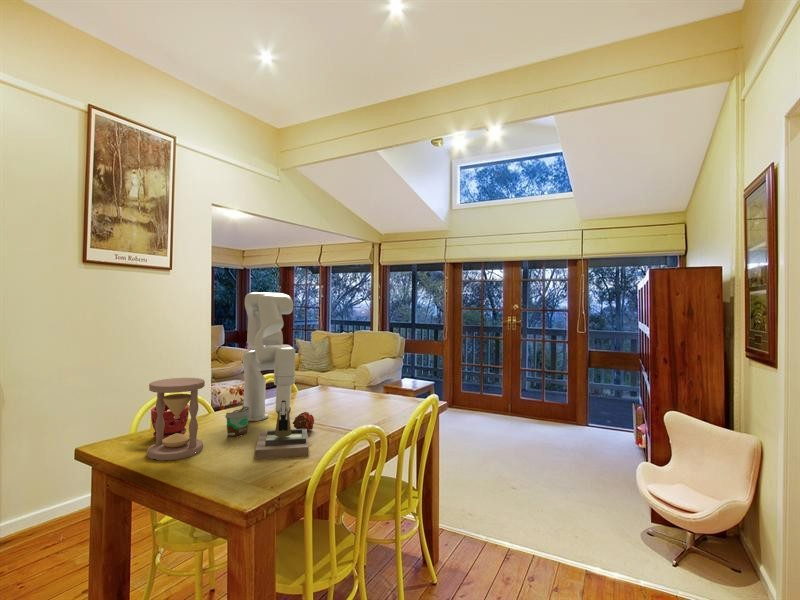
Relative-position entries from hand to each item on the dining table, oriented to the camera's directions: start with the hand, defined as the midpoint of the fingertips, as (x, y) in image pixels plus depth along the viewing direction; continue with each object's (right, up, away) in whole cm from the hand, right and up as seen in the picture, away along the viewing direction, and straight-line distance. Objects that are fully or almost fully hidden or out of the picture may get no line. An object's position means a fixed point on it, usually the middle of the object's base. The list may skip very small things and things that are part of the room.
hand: (283, 428), depth 155 cm
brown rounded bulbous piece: (0, -2, 0) cm, 2 cm away
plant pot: (-48, -6, +9) cm, 49 cm away
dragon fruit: (+3, -7, +20) cm, 22 cm away
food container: (-21, -7, +14) cm, 26 cm away
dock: (0, -7, 0) cm, 7 cm away
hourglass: (-36, -6, -8) cm, 38 cm away
